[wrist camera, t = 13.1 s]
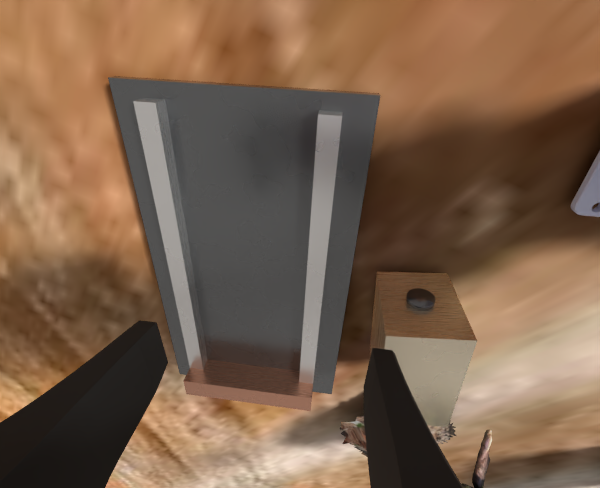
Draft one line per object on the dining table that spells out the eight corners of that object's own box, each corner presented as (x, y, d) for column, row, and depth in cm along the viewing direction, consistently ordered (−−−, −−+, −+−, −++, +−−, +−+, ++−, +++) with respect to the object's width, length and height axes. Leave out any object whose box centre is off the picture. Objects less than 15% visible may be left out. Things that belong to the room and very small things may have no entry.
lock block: (448, 269, 19) (478, 335, 15) (428, 354, 23) (447, 427, 18) (377, 267, 19) (386, 331, 15) (369, 351, 23) (375, 421, 19)
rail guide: (378, 93, 14) (385, 103, 12) (331, 386, 25) (330, 419, 23) (116, 76, 15) (77, 82, 13) (182, 367, 26) (168, 397, 24)
